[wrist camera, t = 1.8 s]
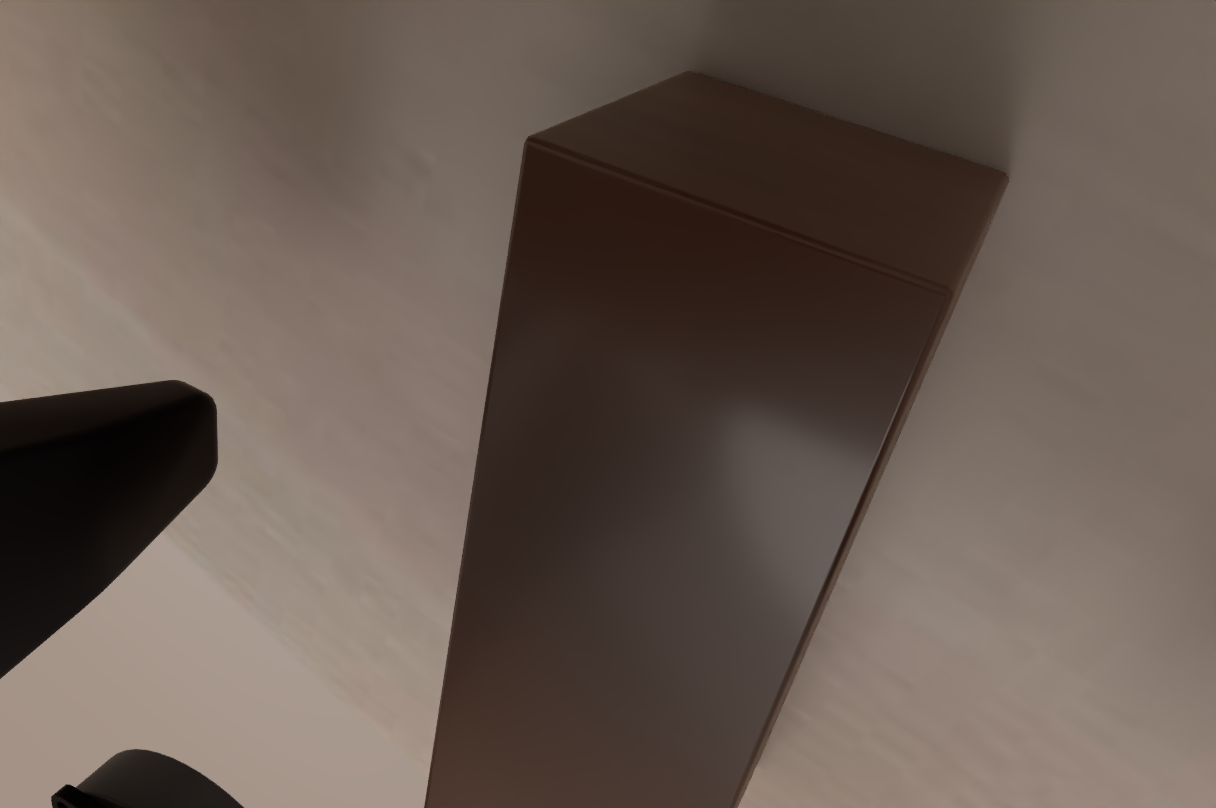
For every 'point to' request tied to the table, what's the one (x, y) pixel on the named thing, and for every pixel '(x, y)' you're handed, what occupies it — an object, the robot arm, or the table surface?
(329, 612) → the table surface
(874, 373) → the block
